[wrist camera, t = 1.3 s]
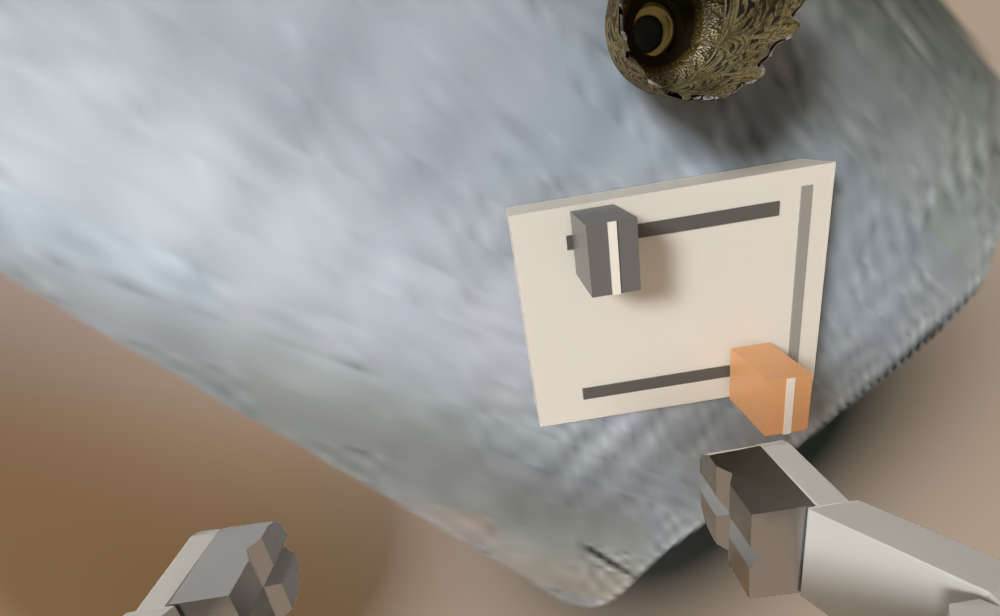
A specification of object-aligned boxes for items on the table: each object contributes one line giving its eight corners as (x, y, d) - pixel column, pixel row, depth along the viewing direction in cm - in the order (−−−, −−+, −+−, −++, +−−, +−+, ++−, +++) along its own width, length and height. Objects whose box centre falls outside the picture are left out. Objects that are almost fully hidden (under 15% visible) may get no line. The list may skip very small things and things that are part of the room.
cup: (639, -84, 23) (715, -183, 16) (742, 13, 25) (853, -35, 18) (551, 54, 25) (582, 23, 18) (652, 135, 27) (718, 137, 20)
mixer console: (505, 207, 28) (508, 216, 25) (800, 158, 28) (837, 161, 25) (535, 401, 33) (540, 427, 31) (784, 362, 33) (814, 384, 30)
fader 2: (730, 348, 29) (769, 382, 25) (769, 342, 29) (814, 375, 25) (729, 398, 30) (765, 437, 26) (766, 392, 30) (808, 430, 26)
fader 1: (569, 211, 25) (586, 226, 21) (613, 203, 25) (637, 217, 21) (576, 273, 26) (592, 298, 23) (618, 267, 26) (641, 290, 23)
